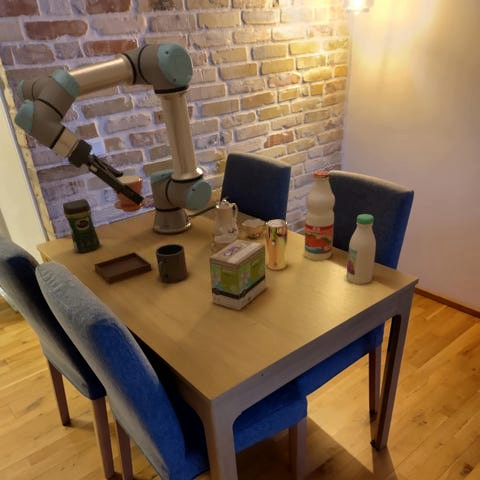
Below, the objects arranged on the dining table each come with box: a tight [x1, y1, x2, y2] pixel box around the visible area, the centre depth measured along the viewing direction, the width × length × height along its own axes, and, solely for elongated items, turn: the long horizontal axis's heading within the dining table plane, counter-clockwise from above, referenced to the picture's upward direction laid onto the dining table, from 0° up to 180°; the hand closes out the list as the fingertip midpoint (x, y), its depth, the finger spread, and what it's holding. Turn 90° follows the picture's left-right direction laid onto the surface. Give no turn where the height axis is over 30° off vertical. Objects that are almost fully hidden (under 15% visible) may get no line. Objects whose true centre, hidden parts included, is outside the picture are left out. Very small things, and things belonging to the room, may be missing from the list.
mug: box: [155, 243, 188, 284], centre depth 139 cm, size 12×9×10 cm
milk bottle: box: [346, 213, 377, 285], centre depth 129 cm, size 8×8×20 cm
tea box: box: [208, 238, 267, 311], centre depth 126 cm, size 15×10×15 cm
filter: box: [112, 175, 148, 213], centre depth 133 cm, size 10×10×9 cm
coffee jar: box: [62, 198, 101, 253], centre depth 163 cm, size 10×8×19 cm
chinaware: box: [210, 197, 266, 253], centre depth 161 cm, size 28×17×17 cm, turn 148°
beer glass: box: [265, 219, 289, 271], centre depth 141 cm, size 7×7×15 cm
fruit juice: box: [304, 170, 336, 261], centre depth 143 cm, size 9×9×28 cm
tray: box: [93, 251, 153, 285], centre depth 149 cm, size 15×13×2 cm
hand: (139, 196), depth 134 cm, fingers closed on filter, 10 cm apart
